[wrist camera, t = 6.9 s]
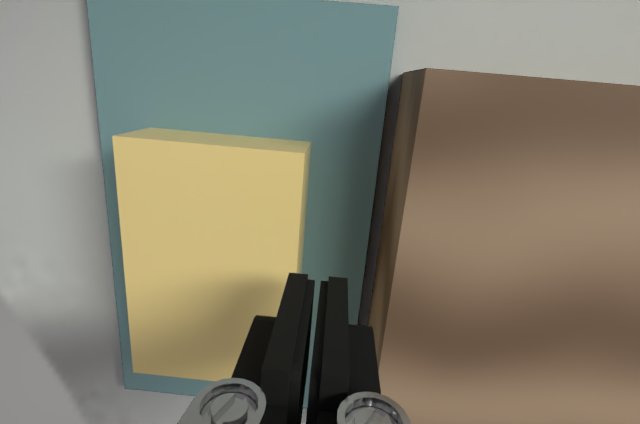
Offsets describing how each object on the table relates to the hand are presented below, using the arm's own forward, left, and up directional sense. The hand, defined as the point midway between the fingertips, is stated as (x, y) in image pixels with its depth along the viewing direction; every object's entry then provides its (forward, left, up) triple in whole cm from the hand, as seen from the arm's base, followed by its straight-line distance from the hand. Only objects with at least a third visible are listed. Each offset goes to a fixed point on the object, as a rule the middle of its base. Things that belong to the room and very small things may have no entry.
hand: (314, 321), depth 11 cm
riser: (0, +9, -5) cm, 11 cm away
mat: (-1, -3, -5) cm, 6 cm away
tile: (0, -4, -4) cm, 5 cm away
